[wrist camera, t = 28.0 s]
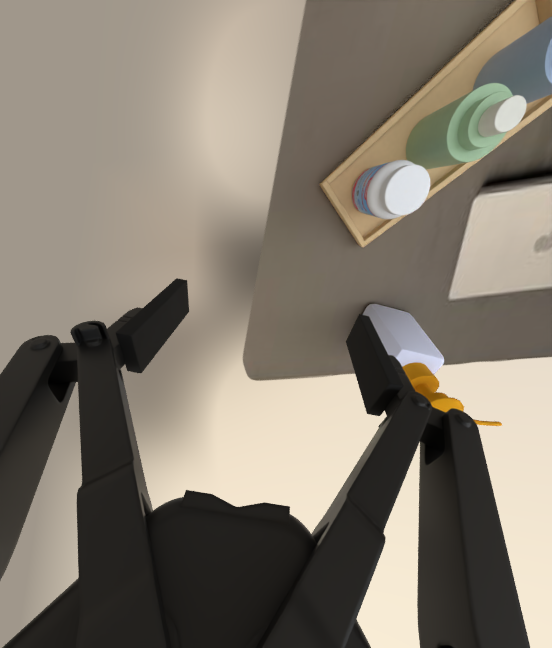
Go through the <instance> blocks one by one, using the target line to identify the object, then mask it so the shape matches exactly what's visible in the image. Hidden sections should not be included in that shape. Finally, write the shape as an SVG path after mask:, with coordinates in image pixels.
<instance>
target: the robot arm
mask: <svg viewBox="0 0 552 648" xmlns="http://www.w3.org/2000/svg"><path fill="white" fill-rule="evenodd" d="M188 312H189V305H188V289H187V280H182V279H175V280H174V281H173V282H172V283H171V284H170V285H169V286H168V287H166V288H165V289H164V290H163V291H162V292H161V293H160V294H159V295H157V296H156V297H155V298H154V299H153V300H152V301H151V302H149V303H148V304H147V305H146V306H145V307H144V308H135V309H132V310H130V311H128V312H127V313H126V314H125V315H123V317H121V318H120V319H119V320H118V321H116V322H115V323H114V324H112V325H111V326H110V327H109V328H108V329H107V328H106V326H105V324H104V323H102V322H100V321H88V322H83V323H80V324H78V325H76V326H75V327H73V328H72V330H71V335H72V337H73V339H74V341H75V343H60V341H59V339H58V338H57V337H56V336H52V335H44V336H38V337H35V338H32V339H30V340H28V341H26V342H24V343H23V344H22V345H21V346H20V347H19V349H18V350H17V352H16V353H15V355H14V356H13V357H12V359H11V360H10V362H9V363H8V365H7V366H6V368H5V369H4V370H3V372H2V373H1V374H0V580H1V578H2V576H3V574H4V572H5V570H6V568H7V566H8V563H9V561H10V559H11V556H12V554H13V551H14V549H15V547H16V544H17V541H18V539H19V536H20V533H21V530H22V528H23V525H24V522H25V519H26V517H27V514H28V511H29V509H30V505H31V503H32V500H33V498H34V495H35V492H36V489H37V487H38V484H39V481H40V479H41V476H42V473H43V470H44V468H45V465H46V462H47V460H48V457H49V454H50V451H51V449H52V446H53V443H54V440H55V438H56V435H57V432H58V429H59V427H60V424H61V421H62V418H63V416H64V413H65V410H66V408H67V405H68V402H69V399H70V397H71V394H72V391H73V388H74V386H75V383H76V382H78V389H79V390H78V391H79V414H80V437H81V460H82V486H81V487H80V488H79V489H78V493H77V527H78V566H79V578H78V579H77V580H76V581H75V582H74V583H73V584H72V585H71V586H69V587H68V588H67V589H66V590H65V591H64V592H63V593H62V594H61V595H60V596H58V597H57V598H56V599H55V600H54V601H53V602H52V603H51V604H50V605H49V606H47V607H46V608H45V609H44V610H43V611H42V612H41V613H40V614H39V615H38V616H36V618H34V619H33V620H32V621H31V622H30V623H29V624H28V625H27V626H25V627H24V628H23V629H22V630H21V631H20V632H19V633H18V634H17V635H16V636H15V637H13V638H12V639H11V640H10V641H9V642H8V643H7V644H6V645H5V646H4V647H3V648H371V647H370V645H369V643H368V641H367V639H366V637H365V635H364V633H363V631H362V629H361V627H360V626H359V624H358V622H357V620H356V618H357V615H358V612H359V610H360V608H361V605H362V602H363V600H364V597H365V594H366V592H367V589H368V587H369V584H370V581H371V578H372V576H373V574H374V571H375V568H376V566H377V563H378V560H379V558H380V555H381V553H382V550H383V547H384V544H385V536H384V534H383V532H384V528H385V526H386V523H387V521H388V518H389V515H390V513H391V511H392V508H393V506H394V503H395V501H396V498H397V496H398V493H399V491H400V488H401V486H402V483H403V481H404V479H405V476H406V474H407V471H408V469H409V466H410V463H411V461H412V458H413V456H414V454H415V451H416V449H417V446H418V444H419V441H420V483H419V488H420V489H419V544H418V545H419V547H418V630H419V640H420V648H530V645H529V641H528V636H527V632H526V629H525V624H524V620H523V615H522V611H521V607H520V603H519V599H518V594H517V590H516V586H515V582H514V577H513V573H512V569H511V565H510V561H509V556H508V553H507V548H506V544H505V540H504V535H503V531H502V527H501V523H500V518H499V514H498V510H497V506H496V502H495V498H494V493H493V489H492V485H491V481H490V476H489V472H488V468H487V464H486V459H485V455H484V451H483V447H482V442H481V438H480V434H479V430H478V427H477V424H476V423H475V421H474V420H473V419H472V418H471V417H470V416H468V414H466V413H464V412H463V411H461V410H458V409H455V408H451V409H450V410H448V411H447V412H443V411H441V410H439V409H437V408H434V407H432V405H431V403H430V401H429V400H428V399H427V398H426V397H425V396H423V395H422V394H420V393H418V392H416V391H415V389H414V388H413V386H412V384H411V382H410V380H409V378H408V376H407V375H406V373H405V371H404V369H403V367H402V365H401V364H400V362H399V361H398V360H397V359H396V358H395V357H394V356H393V355H388V353H387V351H386V349H385V347H384V345H383V343H382V341H381V339H380V337H379V335H378V333H377V331H376V329H375V327H374V325H373V323H372V321H371V319H370V317H369V316H365V315H360V314H359V316H358V318H357V320H356V322H355V324H354V326H353V328H352V330H351V332H350V334H349V337H348V339H347V341H346V343H347V346H348V350H349V353H350V357H351V360H352V364H353V367H354V370H355V374H356V377H357V381H358V384H359V388H360V391H361V395H362V398H363V401H364V405H365V408H366V411H367V414H371V415H377V416H380V415H381V414H382V413H383V411H384V410H385V412H386V415H387V417H386V418H385V419H384V421H383V422H382V423H381V424H380V425H379V429H378V430H377V432H376V434H375V436H374V437H373V439H372V440H371V442H370V443H369V445H368V447H367V448H366V450H365V451H364V453H363V455H362V456H361V458H360V459H359V461H358V463H357V464H356V466H355V467H354V469H353V471H352V472H351V474H350V475H349V477H348V479H347V480H346V482H345V483H344V485H343V487H342V488H341V490H340V491H339V493H338V495H337V496H336V498H335V499H334V501H333V503H332V504H331V506H330V507H329V509H328V511H327V512H326V514H325V515H324V517H323V518H322V520H321V521H320V522H319V524H318V525H317V526H316V528H315V529H314V531H313V533H312V534H311V533H310V532H309V531H308V529H307V528H306V527H305V526H304V525H303V524H302V523H301V522H300V521H299V520H298V519H296V518H295V517H294V516H292V515H290V514H289V513H290V511H289V510H290V507H289V506H282V505H276V504H270V503H260V504H254V505H248V506H242V507H235V506H233V505H231V504H229V503H227V502H226V501H224V500H222V499H220V498H218V497H216V496H214V495H212V494H207V493H201V492H195V491H189V490H186V492H185V495H184V497H182V498H177V499H174V500H171V501H169V502H167V503H165V504H163V505H161V506H159V507H158V508H156V509H155V510H154V511H153V509H152V505H151V501H150V498H149V494H148V491H147V487H146V482H145V478H144V473H143V468H142V464H141V459H140V455H139V450H138V446H137V441H136V436H135V432H134V427H133V423H132V418H131V414H130V409H129V404H128V400H127V395H126V391H125V387H124V382H123V377H122V373H121V370H120V369H121V368H122V367H123V366H124V364H125V365H126V368H127V371H131V372H137V373H142V372H143V370H144V369H145V368H146V366H147V365H148V364H149V363H150V361H151V360H152V359H153V358H154V356H155V355H156V353H157V352H158V351H159V350H160V348H161V347H162V346H163V345H164V343H165V342H166V341H167V339H168V338H169V337H170V336H171V334H172V333H173V332H174V330H175V329H176V328H177V326H178V325H179V324H180V322H181V321H182V320H183V319H184V317H185V316H186V315H187V313H188Z"/></svg>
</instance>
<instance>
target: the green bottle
mask: <svg viewBox="0 0 552 648" xmlns="http://www.w3.org/2000/svg"><path fill="white" fill-rule="evenodd" d="M526 105H527V104H526V100H525V98H524V97H523V96H520V95H515V96H513V95H512V93H511V91H510V90H509V88H508V87H506V86H505V85H503V84H500V83H489V84H485V85H483V86H481V87H479V88H477V89H475V90H473V91H471V92H469V93H468V94H466V95H464V96H462V97H460V98H459V99H457V100H455V101H453V102H451V103H450V104H448V105H446V106H444V107H442V108H441V109H439V110H437V111H435V112H433V113H432V114H430V115H428V116H426V117H425V118H423V119H422V120H421V121H419V122H418V123H417V125H416V126H415V127H414V128H413V130H412V131H411V133H410V135H409V138H408V140H407V144H406V158H407V161H410V162H412V163H414V164H415V165H420V166H422V167H423V168H425V169H426V170H427V169H433V168H439V167H444V166H450V165H456V164H461V163H467V162H472V161H475V160H478V159H480V158H482V157H484V156H485V155H487V154H488V153H489V152H491V151H492V150H493V149H494V148H495V147H496V146H497V145H498V144H499V143H500V141H501V140H502V139H503V137H504V136H505V134H506V132H507V131H510V130H511V129H513V128H514V127H515V126H516V125H517V124H518V123H519V122H520V121H521V119H522V118H523V116H524V114H525V111H526Z"/></svg>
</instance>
